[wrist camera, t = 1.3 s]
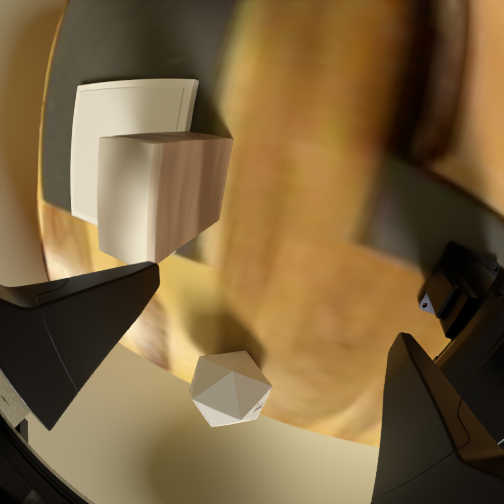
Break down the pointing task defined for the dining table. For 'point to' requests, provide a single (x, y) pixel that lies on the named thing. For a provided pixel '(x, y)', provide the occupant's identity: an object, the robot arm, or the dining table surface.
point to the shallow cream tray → (121, 125)
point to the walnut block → (158, 191)
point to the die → (229, 388)
